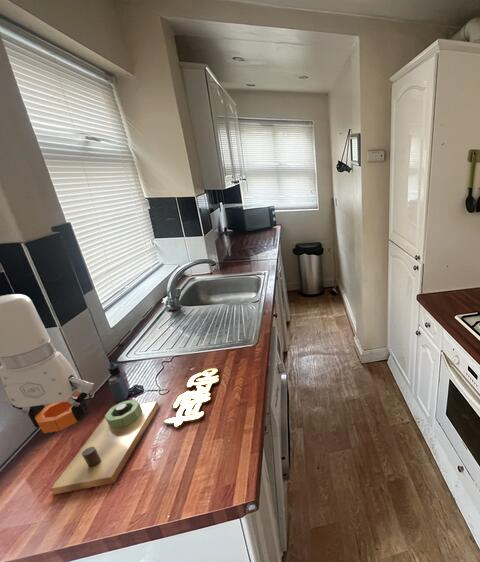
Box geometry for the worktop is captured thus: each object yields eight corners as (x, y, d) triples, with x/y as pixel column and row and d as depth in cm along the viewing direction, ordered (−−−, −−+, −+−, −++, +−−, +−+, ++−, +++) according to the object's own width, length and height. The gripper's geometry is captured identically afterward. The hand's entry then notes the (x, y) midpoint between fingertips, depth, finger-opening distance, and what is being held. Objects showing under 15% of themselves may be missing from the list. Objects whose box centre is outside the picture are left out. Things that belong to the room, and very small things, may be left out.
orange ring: (32, 435, 65) (25, 424, 64) (57, 410, 72) (51, 400, 71) (71, 429, 67) (65, 418, 65) (92, 404, 73) (87, 395, 72)
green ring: (103, 430, 82) (99, 422, 81) (118, 410, 89) (114, 402, 88) (133, 425, 84) (130, 417, 82) (146, 406, 90) (142, 398, 89)
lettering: (194, 372, 107) (193, 370, 106) (224, 368, 108) (224, 366, 108) (161, 430, 84) (160, 428, 84) (200, 424, 85) (199, 422, 85)
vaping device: (130, 390, 99) (118, 360, 95) (125, 401, 95) (111, 370, 90) (121, 392, 98) (107, 362, 94) (115, 404, 94) (100, 372, 89)
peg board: (53, 494, 69) (42, 476, 66) (114, 413, 90) (107, 397, 88) (114, 482, 71) (104, 464, 68) (159, 406, 93) (153, 390, 90)
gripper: (-43, 371, 57) (2, 440, 64) (64, 358, 61) (97, 425, 67) (-6, 349, 64) (31, 413, 71) (89, 338, 67) (116, 400, 74)
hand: (63, 418), depth 69 cm, fingers closed on orange ring, 7 cm apart
